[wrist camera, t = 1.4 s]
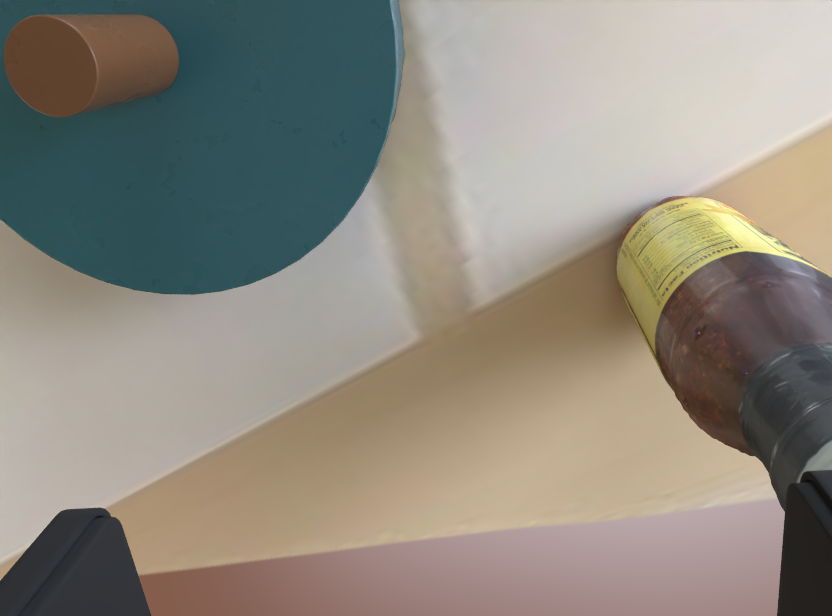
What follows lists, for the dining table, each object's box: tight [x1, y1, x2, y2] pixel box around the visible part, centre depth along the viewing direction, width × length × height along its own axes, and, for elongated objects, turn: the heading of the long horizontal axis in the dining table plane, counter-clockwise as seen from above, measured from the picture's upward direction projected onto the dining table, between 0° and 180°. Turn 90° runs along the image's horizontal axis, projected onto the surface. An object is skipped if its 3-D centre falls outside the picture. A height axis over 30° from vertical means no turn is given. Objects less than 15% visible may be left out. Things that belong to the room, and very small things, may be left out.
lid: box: [0, 0, 399, 294], centre depth 24 cm, size 19×19×7 cm
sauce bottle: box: [616, 196, 832, 511], centre depth 25 cm, size 7×6×20 cm
